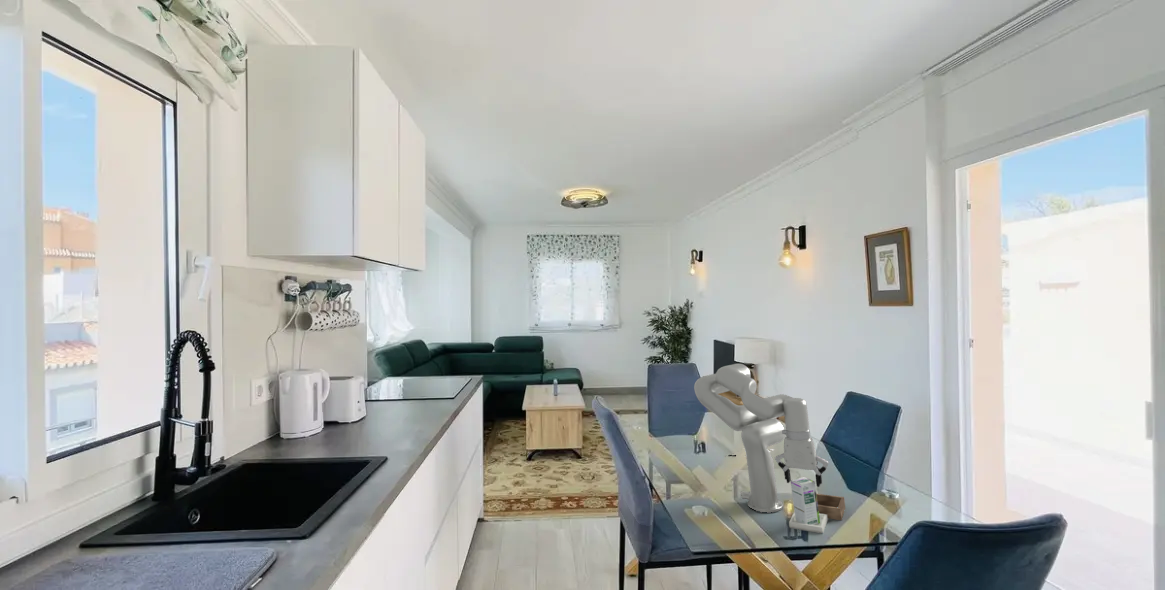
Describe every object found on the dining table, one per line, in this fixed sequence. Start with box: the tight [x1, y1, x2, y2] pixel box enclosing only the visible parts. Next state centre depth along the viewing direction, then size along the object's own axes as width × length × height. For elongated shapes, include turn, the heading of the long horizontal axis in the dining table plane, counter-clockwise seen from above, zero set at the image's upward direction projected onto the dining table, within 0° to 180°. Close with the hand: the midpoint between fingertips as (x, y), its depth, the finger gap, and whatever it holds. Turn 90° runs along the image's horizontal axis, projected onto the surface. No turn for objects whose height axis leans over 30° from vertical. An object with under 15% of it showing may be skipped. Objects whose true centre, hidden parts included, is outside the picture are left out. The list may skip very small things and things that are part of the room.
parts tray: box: [788, 511, 829, 534], centre depth 165 cm, size 10×10×2 cm
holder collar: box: [816, 493, 846, 521], centre depth 173 cm, size 11×11×4 cm
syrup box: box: [789, 476, 820, 525], centre depth 166 cm, size 6×6×14 cm
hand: (803, 483), depth 166 cm, fingers open, 9 cm apart
